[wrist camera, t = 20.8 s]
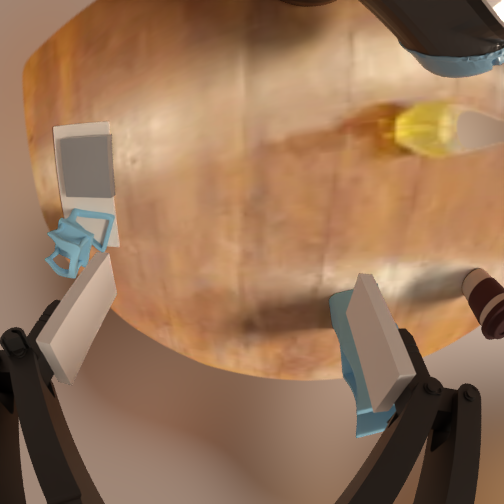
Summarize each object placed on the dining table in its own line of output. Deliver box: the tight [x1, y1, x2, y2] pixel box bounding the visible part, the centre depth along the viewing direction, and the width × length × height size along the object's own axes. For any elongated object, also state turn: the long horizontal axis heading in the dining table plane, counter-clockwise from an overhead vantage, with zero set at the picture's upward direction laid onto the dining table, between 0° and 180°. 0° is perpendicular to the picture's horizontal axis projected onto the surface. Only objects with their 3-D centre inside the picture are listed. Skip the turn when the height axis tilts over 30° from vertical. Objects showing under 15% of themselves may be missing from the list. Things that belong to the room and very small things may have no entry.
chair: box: [45, 208, 115, 278], centre depth 44 cm, size 8×8×12 cm
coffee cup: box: [462, 269, 504, 340], centre depth 48 cm, size 10×10×15 cm
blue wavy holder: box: [329, 284, 399, 438], centre depth 47 cm, size 10×10×25 cm
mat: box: [53, 121, 120, 247], centre depth 46 cm, size 22×11×1 cm, turn 175°
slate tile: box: [60, 134, 115, 198], centre depth 43 cm, size 10×2×9 cm
